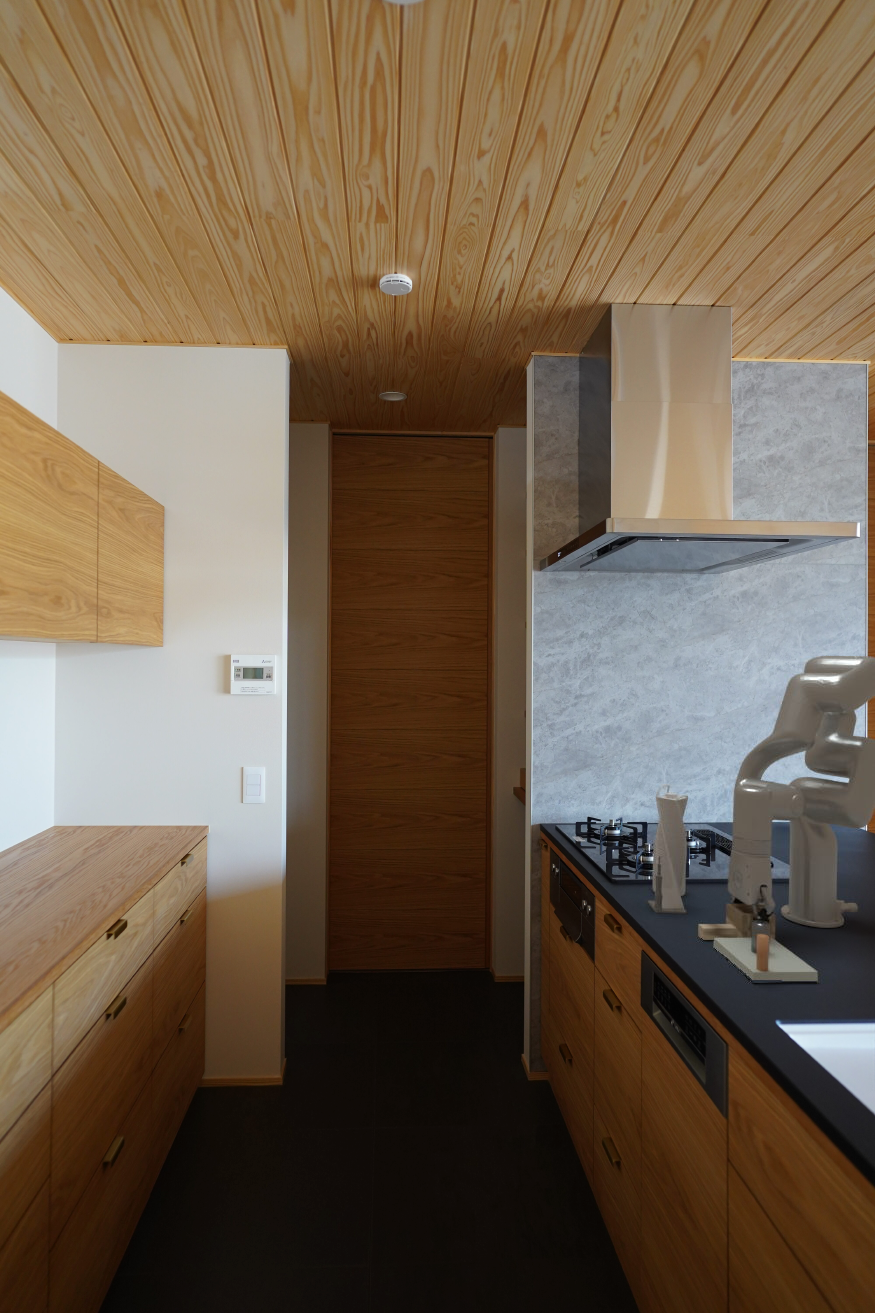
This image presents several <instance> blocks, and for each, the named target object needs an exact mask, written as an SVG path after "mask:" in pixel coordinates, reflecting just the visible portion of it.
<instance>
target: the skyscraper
mask: <svg viewBox="0 0 875 1313" xmlns="http://www.w3.org/2000/svg"><path fill="white" fill-rule="evenodd" d="M670 786H671V785H669V784H664V785H662V786H661V787H660V788H659V789H658V790H657V793H656V796H655V801H656V807H657V813H658V817H659V818H658V823H657V827H656V836H655V838H656V872H657V874H656V891H655V892H654V900H647V904H648V905H649V906H650V908H651V909H652V910H653V911H654V913H655V914H657V913H659V914H685V915H686V914H687V910H686V909H685V907H684V903H683V900H682V896H680V892H681V888H682V884H683V879H684V873H685V867H687V854H688V852H687V850H688V847H687V844H688V843H687V835H686V828H685V824H684V820H683V819H684V816H685V811H686V809H687V808H686V807H687V805H688V800H689V796H688V795H687V794H683V795H680V796H679V794H678V793H676V792H670ZM664 788H667V790H666V792H665V793H664V795H659V794H660V791H661V790H662V789H664Z"/></svg>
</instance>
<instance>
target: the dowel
mask: <svg viewBox="0 0 875 1313" xmlns="http://www.w3.org/2000/svg"><path fill="white" fill-rule="evenodd" d="M768 965H769V936H767V935H765V934H757V959H756V969H757V970H759V971H764V972H766V971H768Z"/></svg>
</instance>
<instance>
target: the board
mask: <svg viewBox="0 0 875 1313" xmlns="http://www.w3.org/2000/svg"><path fill="white" fill-rule="evenodd" d="M714 948H715V949H716V950H717V952H718V951H719V952H720V953H721V954H723V955H724V956H725V957H727V958H728V959H729V960H730V961H731V962H732V963H733V964H735V965H736V966H737V967H738V968H739V969H741V970H742V971H743V972H744V973H746V975H747V976H749V977H750V978H751V979H752V980H782V981H817V982H818V976H819V974H818V971H817V970H816V969H815V968H814V967H812V966H810V965H809V964H808V963H806V961H804V960H803V959H801V958H800V957H799V956H797V955H796V954H794V953H793V952H792V951H791V950H789V949H787V947H785V946H784V945H782V944H781V943H780V942H778V941H777V940H776V939H775V940H774V939H773V938H770V946H769V965H768V971H766V972H764V971H759V970H757V969H756V959H757V954H755V953H753V952H752V951H751V938H714V941H713V949H714ZM715 949H714V950H715ZM716 950H715V951H716ZM719 952H718V953H719ZM720 953H719V954H720ZM721 954H720V955H721Z"/></svg>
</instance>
